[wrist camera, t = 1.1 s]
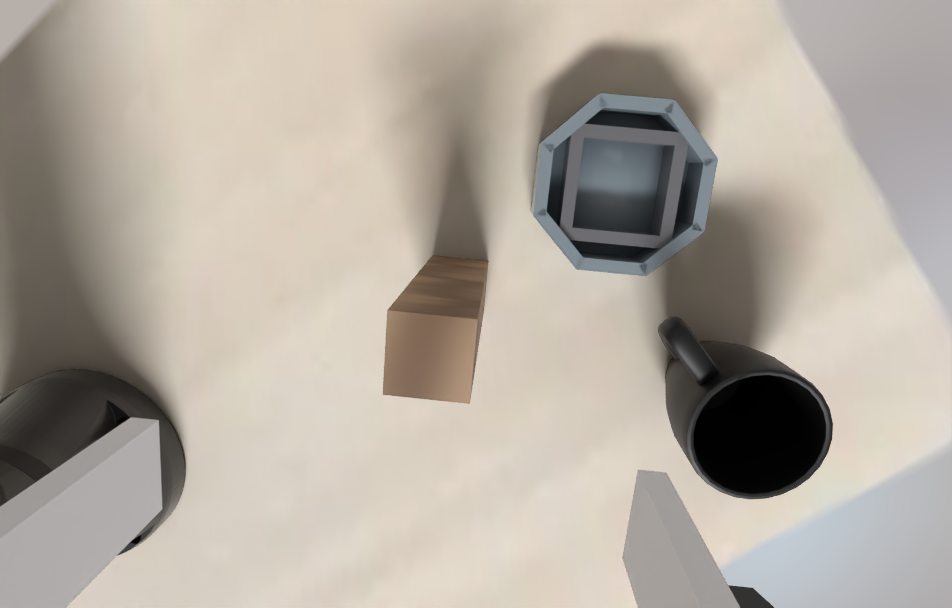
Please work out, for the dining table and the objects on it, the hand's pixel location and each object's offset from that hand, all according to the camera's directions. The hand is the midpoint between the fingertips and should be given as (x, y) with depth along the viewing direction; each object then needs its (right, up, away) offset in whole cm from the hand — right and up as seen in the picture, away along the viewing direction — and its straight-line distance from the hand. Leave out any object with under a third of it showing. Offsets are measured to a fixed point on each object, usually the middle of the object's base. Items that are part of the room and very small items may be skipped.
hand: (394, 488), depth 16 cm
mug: (+18, +1, +26) cm, 32 cm away
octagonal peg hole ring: (+12, +13, +23) cm, 29 cm away
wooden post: (+1, +6, +26) cm, 26 cm away
